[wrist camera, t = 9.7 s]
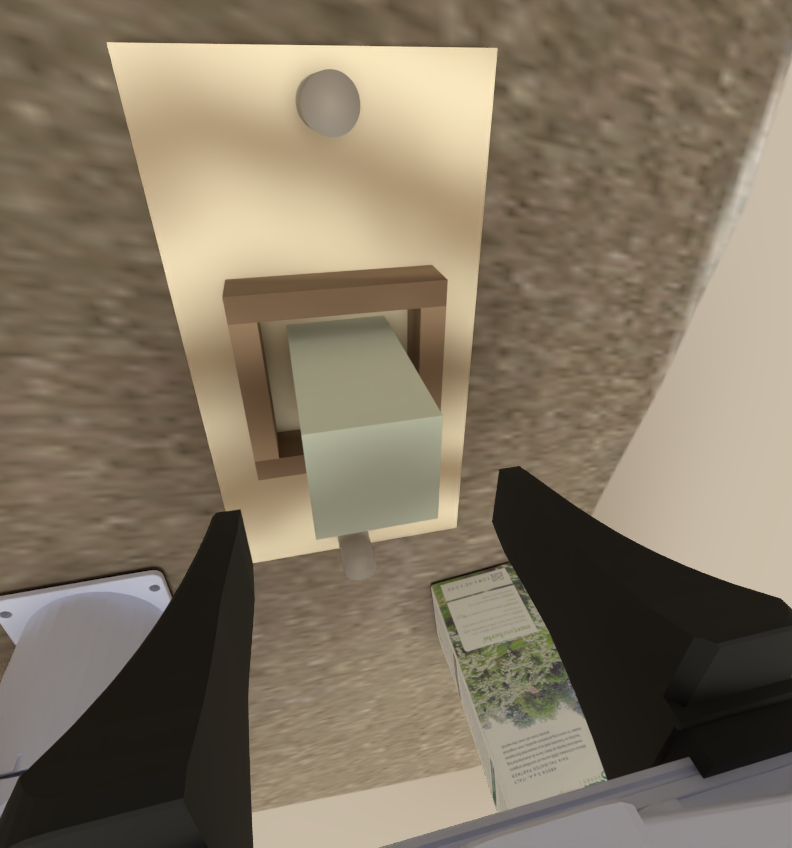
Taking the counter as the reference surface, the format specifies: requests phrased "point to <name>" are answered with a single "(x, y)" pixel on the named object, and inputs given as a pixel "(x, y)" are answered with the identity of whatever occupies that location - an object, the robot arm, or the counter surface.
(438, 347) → the socket plate
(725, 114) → the counter surface
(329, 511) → the sage peg
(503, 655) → the syrup box
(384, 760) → the counter surface
